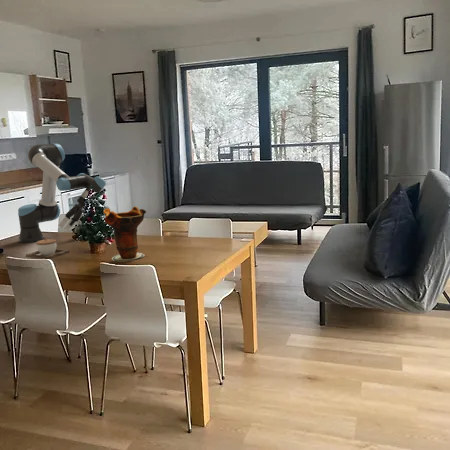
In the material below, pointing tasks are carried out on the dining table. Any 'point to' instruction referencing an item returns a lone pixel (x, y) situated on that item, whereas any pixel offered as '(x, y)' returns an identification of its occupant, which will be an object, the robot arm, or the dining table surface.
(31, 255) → the walnut frame
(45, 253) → the lidded jar
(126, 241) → the decorative vase
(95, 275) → the dining table surface
